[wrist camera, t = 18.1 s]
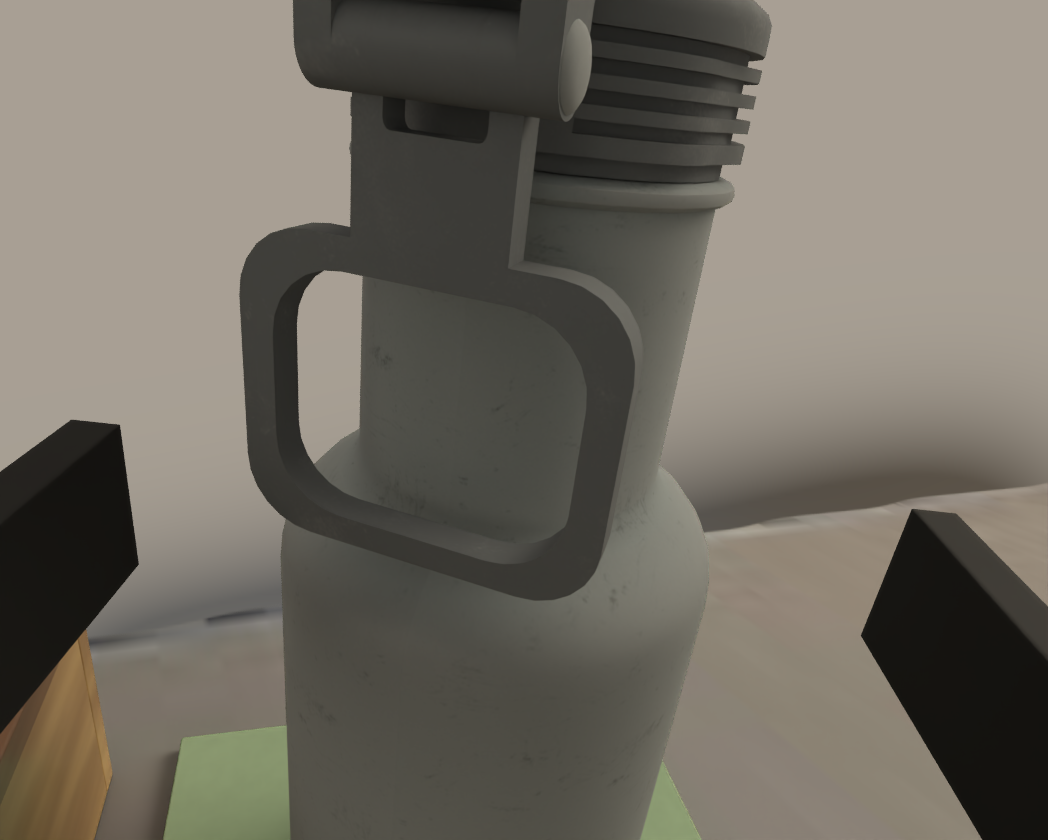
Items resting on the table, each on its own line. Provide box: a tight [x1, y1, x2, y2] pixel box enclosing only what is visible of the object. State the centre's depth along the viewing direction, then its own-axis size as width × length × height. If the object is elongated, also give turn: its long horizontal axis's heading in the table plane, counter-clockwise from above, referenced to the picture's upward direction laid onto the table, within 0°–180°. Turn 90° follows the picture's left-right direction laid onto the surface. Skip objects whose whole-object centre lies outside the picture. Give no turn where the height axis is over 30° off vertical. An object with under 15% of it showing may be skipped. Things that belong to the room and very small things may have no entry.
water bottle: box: [240, 0, 772, 840], centre depth 17 cm, size 10×10×28 cm
